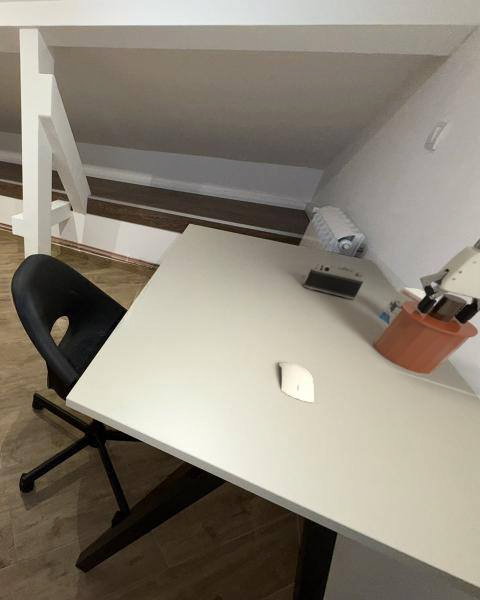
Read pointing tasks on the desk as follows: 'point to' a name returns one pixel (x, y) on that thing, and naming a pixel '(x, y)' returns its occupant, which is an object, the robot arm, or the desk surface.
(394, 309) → the ink box
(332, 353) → the desk surface
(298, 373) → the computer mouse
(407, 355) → the pot
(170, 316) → the desk surface
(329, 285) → the camera
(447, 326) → the lid
